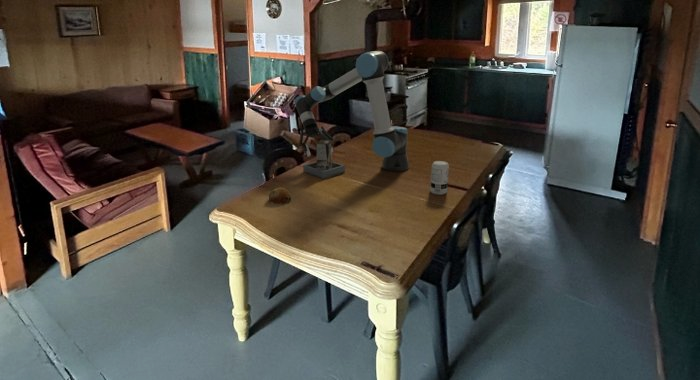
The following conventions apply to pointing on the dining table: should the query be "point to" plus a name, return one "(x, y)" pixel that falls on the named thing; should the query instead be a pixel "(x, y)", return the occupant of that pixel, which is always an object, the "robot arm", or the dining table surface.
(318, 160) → the coffee box
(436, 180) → the supplement can
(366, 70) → the robot arm
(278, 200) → the bread roll
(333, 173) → the tray
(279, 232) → the dining table surface
